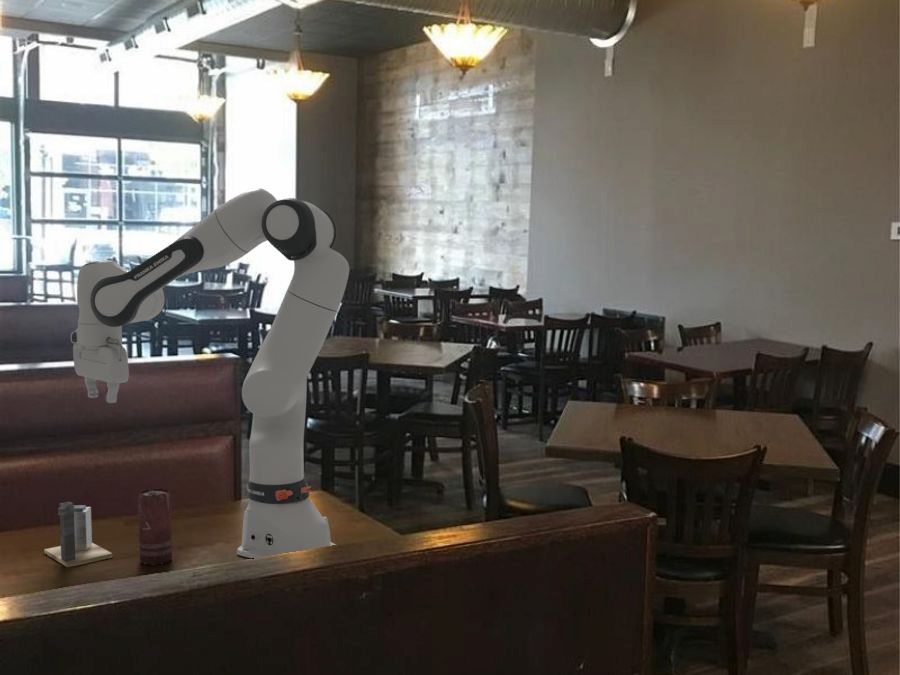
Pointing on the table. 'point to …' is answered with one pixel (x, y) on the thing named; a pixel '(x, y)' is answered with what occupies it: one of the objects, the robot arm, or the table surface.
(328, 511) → the table surface
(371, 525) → the table surface
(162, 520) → the can
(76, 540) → the grey square pillar
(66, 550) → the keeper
